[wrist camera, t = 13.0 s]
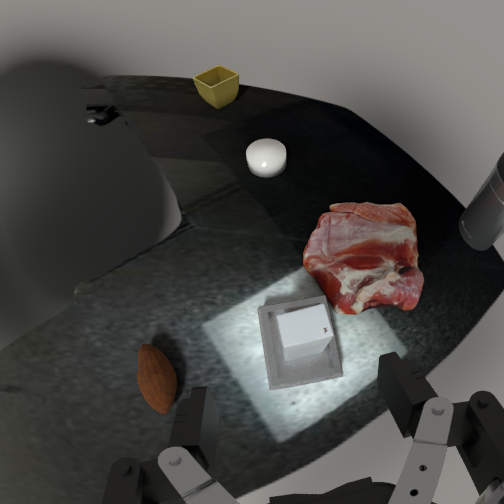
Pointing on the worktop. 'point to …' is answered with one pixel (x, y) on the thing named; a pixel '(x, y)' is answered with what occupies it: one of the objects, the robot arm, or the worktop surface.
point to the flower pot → (218, 86)
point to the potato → (156, 378)
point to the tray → (299, 368)
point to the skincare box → (304, 331)
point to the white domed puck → (266, 157)
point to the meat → (365, 257)
